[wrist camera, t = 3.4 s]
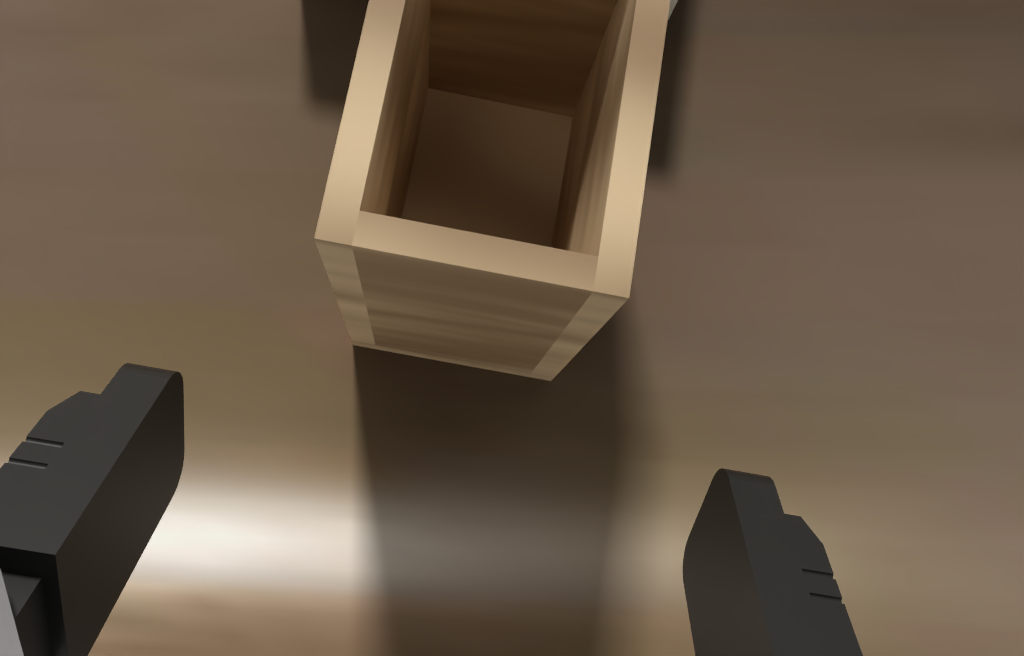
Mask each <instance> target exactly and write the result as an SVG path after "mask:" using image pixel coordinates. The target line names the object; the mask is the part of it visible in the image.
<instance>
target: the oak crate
mask: <svg viewBox="0 0 1024 656" xmlns="http://www.w3.org/2000/svg"><path fill="white" fill-rule="evenodd" d="M669 6H670V0H369V3H368V7H367V11H366V16H365V20H364V24H363V29H362V33H361V37H360V42H359V46H358V50H357V55H356V59H355V63H354V68H353V72H352V76H351V81H350V85H349V89H348V94H347V98H346V103H345V107H344V111H343V116H342V120H341V124H340V129H339V133H338V137H337V142H336V146H335V150H334V155H333V159H332V163H331V168H330V172H329V176H328V181H327V185H326V189H325V194H324V198H323V202H322V207H321V211H320V216H319V220H318V224H317V229H316V233H315V237H314V239H315V242H316V245H317V247H318V250H319V253H320V256H321V258H322V261H323V264H324V267H325V269H326V272H327V275H328V278H329V280H330V283H331V286H332V289H333V291H334V294H335V297H336V300H337V302H338V305H339V308H340V311H341V314H342V316H343V319H344V322H345V325H346V327H347V330H348V333H349V336H350V338H351V341H352V344H353V345H355V346H361V347H366V348H372V349H377V350H383V351H388V352H394V353H399V354H405V355H410V356H416V357H421V358H427V359H432V360H438V361H443V362H449V363H454V364H460V365H465V366H471V367H476V368H482V369H487V370H493V371H498V372H504V373H509V374H515V375H520V376H526V377H531V378H537V379H542V380H548V381H552V380H553V379H554V377H555V376H556V375H557V374H558V373H559V372H560V371H561V370H562V369H563V368H564V367H565V366H566V365H567V364H568V363H569V362H570V360H571V359H572V358H573V357H574V356H575V355H576V354H577V353H578V352H579V351H580V350H581V349H582V348H583V347H584V346H585V345H586V343H587V342H588V341H589V340H590V339H591V338H592V337H593V336H594V335H595V334H596V333H597V332H598V331H599V330H600V329H601V328H602V326H603V325H604V324H605V323H606V322H607V321H608V320H609V319H610V318H611V317H612V316H613V315H614V314H615V313H616V312H617V311H618V309H619V308H620V307H621V306H622V305H623V304H624V303H625V302H626V301H627V300H628V299H629V296H630V289H631V282H632V274H633V267H634V260H635V253H636V245H637V238H638V231H639V224H640V216H641V209H642V202H643V195H644V187H645V180H646V173H647V166H648V158H649V151H650V144H651V137H652V129H653V122H654V115H655V108H656V100H657V93H658V86H659V79H660V71H661V64H662V57H663V50H664V42H665V35H666V28H667V21H668V13H669Z"/></svg>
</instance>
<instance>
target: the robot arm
mask: <svg viewBox="0 0 1024 656" xmlns="http://www.w3.org/2000/svg"><path fill="white" fill-rule="evenodd" d="M183 461H184V393H183V378H182V375H181V374H180V373H179V372H176V371H170V370H164V369H159V368H153V367H147V366H141V365H136V364H130V363H127V364H124V365H123V366H122V367H121V368H120V369H119V370H118V372H117V373H116V374H115V376H114V377H113V378H112V380H111V381H110V383H109V384H108V385H107V387H106V388H105V389H104V391H103V392H102V393H101V395H100V394H94V393H89V392H83V391H80V392H78V393H76V394H75V395H73V396H71V397H70V398H68V399H66V400H65V401H63V402H61V403H60V404H58V405H56V406H55V407H53V408H51V409H50V410H48V411H47V412H46V413H45V414H44V416H43V417H42V418H41V419H40V420H39V422H38V423H37V424H36V425H35V427H34V428H33V429H32V430H31V432H30V433H29V434H28V435H27V438H26V441H25V442H22V443H21V444H20V445H19V446H18V448H17V449H16V450H15V451H14V453H13V454H12V455H11V456H10V457H9V462H8V463H5V464H4V465H3V466H2V467H1V469H0V656H88V654H89V652H90V650H91V648H92V646H93V644H94V642H95V641H96V639H97V637H98V635H99V633H100V631H101V629H102V628H103V626H104V624H105V622H106V620H107V618H108V616H109V615H110V613H111V611H112V609H113V607H114V605H115V603H116V601H117V600H118V598H119V596H120V594H121V592H122V590H123V588H124V587H125V585H126V583H127V581H128V579H129V577H130V575H131V573H132V572H133V570H134V568H135V566H136V564H137V562H138V560H139V559H140V557H141V555H142V553H143V551H144V549H145V547H146V546H147V544H148V542H149V540H150V538H151V536H152V534H153V532H154V531H155V529H156V527H157V525H158V523H159V521H160V519H161V518H162V516H163V514H164V512H165V510H166V508H167V506H168V505H169V503H170V501H171V499H172V497H173V495H174V493H175V491H176V488H177V486H178V483H179V479H180V476H181V472H182V467H183ZM683 582H684V588H685V594H686V600H687V607H688V613H689V619H690V625H691V631H692V637H693V643H694V649H695V655H696V656H863V655H862V652H861V649H860V647H859V644H858V641H857V638H856V635H855V633H854V630H853V627H852V624H851V621H850V619H849V616H848V613H847V610H846V607H845V605H844V604H842V603H841V600H842V596H841V593H840V591H839V588H838V585H837V582H836V580H835V579H833V571H832V568H831V565H830V563H829V560H828V557H827V554H826V551H825V549H824V546H823V544H822V543H821V541H820V540H819V539H818V538H817V536H816V535H815V534H814V533H813V531H812V530H811V529H810V528H809V526H808V525H807V524H806V523H805V522H804V520H803V519H802V518H801V517H800V516H794V515H789V514H784V512H783V509H782V506H781V503H780V499H779V496H778V493H777V490H776V487H775V484H774V482H773V480H772V479H771V478H770V477H768V476H763V475H757V474H751V473H745V472H740V471H734V470H728V469H723V468H722V469H719V470H718V471H717V472H716V474H715V475H714V477H713V479H712V482H711V484H710V487H709V489H708V491H707V494H706V496H705V499H704V501H703V503H702V506H701V508H700V511H699V513H698V516H697V518H696V520H695V523H694V525H693V528H692V530H691V532H690V535H689V537H688V540H687V543H686V547H685V552H684V559H683Z"/></svg>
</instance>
